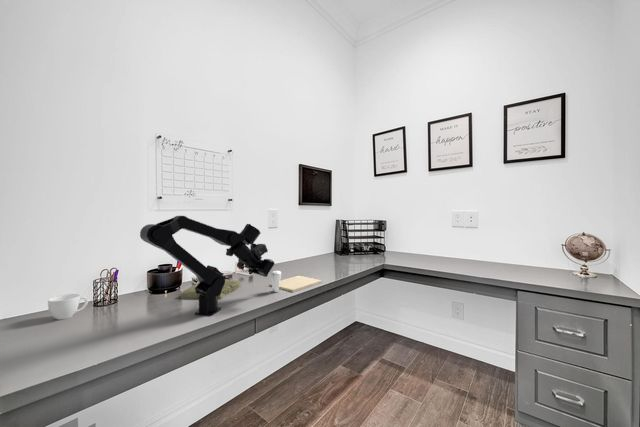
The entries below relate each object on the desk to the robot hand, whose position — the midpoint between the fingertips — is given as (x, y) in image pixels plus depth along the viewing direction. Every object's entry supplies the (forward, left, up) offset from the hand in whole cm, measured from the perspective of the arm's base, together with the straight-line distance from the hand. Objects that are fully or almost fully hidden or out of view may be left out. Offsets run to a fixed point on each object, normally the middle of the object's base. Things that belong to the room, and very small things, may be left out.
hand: (266, 275), depth 115 cm
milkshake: (+4, -2, -8) cm, 9 cm away
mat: (+17, -8, -8) cm, 20 cm away
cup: (-35, +58, -8) cm, 68 cm away
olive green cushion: (-1, +25, -8) cm, 26 cm away
